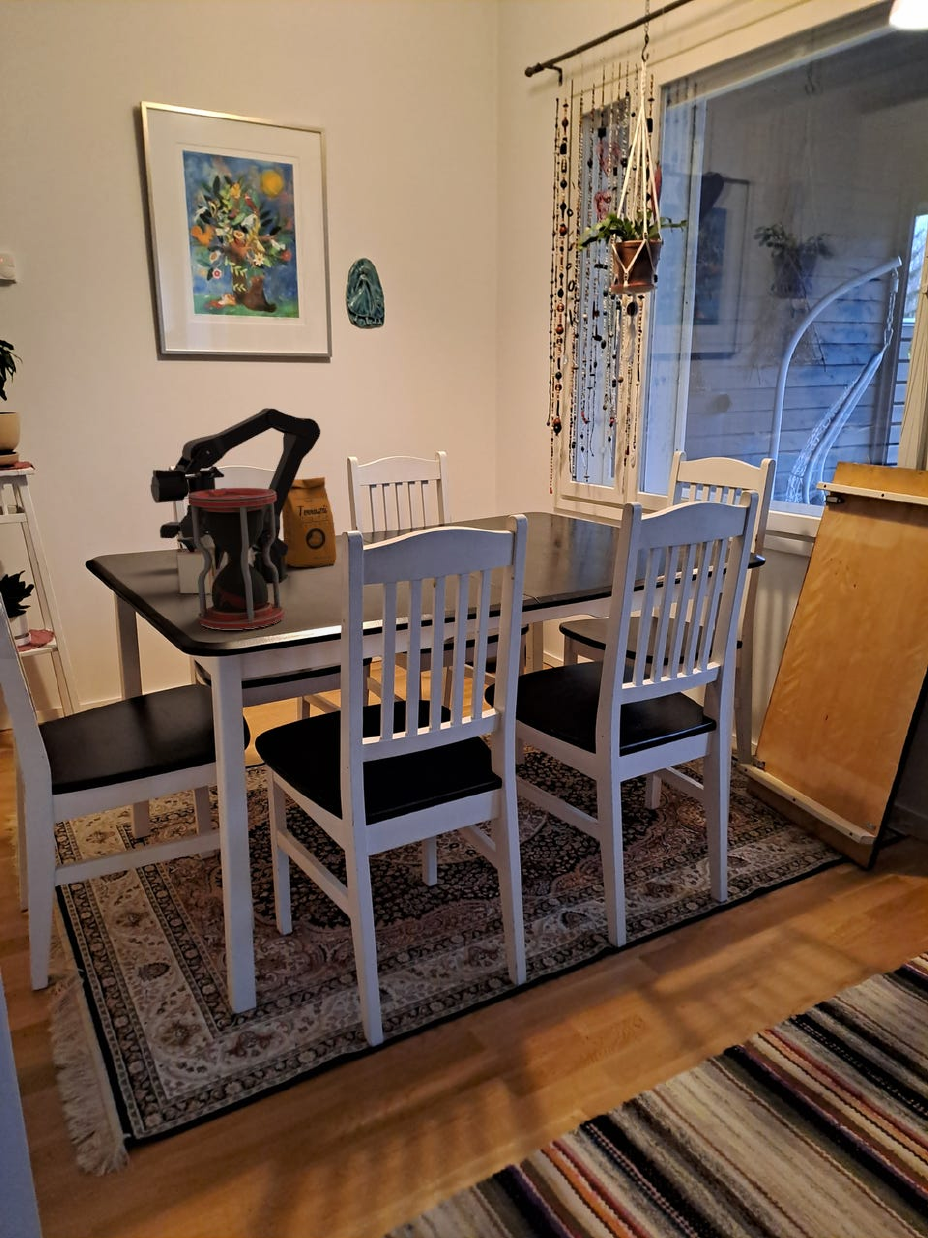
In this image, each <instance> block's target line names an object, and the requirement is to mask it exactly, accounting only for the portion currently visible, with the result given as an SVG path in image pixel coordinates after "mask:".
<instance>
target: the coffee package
mask: <svg viewBox="0 0 928 1238" xmlns="http://www.w3.org/2000/svg"><path fill="white" fill-rule="evenodd" d="M325 485H326V477H325V476H324V477H323V476H321V477H314V478H302V479H299V478H298V479H296V478H295V479H294V482H293V484H292V487H291V489H290V492H289V494H288V497H287V499H286V502H285V504H284V507H283V509H282V512H281V515H282V516H281V517H282V518H281V519H282V530H283V531H282V533H283V542H284V543H285V544H286V545H287V546H288V551H287V555H285V565H290V566H291V567H295V568H296V567H297V568H308V567H310V566H311V567H323V566H328V565H332V564H333V566H334V565H335V564H336V560H337V545H336V543H337V541H336V537H337V536H336V530H335V523H334V516H333V512H332V508H331V503H330V500H329V496H328V492H327V489H326V487H325ZM311 567H310V568H311Z"/></svg>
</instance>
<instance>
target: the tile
mask: <svg viewBox="0 0 928 1238" xmlns="http://www.w3.org/2000/svg"><path fill="white" fill-rule="evenodd" d="M176 562H177V563H176V565H177V572H178V582H179V593H199V588H198V579H199V575H200V573H201V572H202V570H203V569H204V563H205V560H204V557H203V553H201V552H189V551H188V552H187V551H186V552H184V551H180V552H179V551H178V552H177V553H176ZM213 582H214V580H213V576H212V567H211V569H210V570H209V572H208V573H207V574H206V577H205V580H204V585H205V593H212V585H213Z"/></svg>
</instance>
